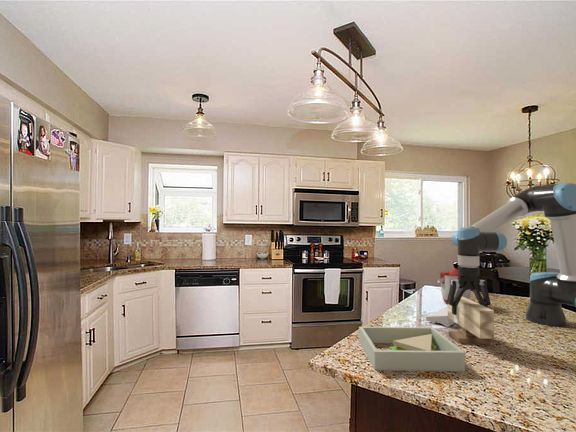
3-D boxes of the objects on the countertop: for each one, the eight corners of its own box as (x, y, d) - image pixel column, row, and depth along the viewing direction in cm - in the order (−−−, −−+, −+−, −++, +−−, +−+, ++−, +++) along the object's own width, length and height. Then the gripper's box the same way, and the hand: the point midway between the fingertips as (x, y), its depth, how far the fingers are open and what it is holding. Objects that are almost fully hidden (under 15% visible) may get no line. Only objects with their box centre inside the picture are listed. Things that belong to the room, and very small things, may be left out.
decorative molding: (428, 327, 148) (450, 327, 141) (425, 316, 149) (447, 315, 142) (455, 312, 171) (475, 311, 164) (453, 303, 172) (472, 302, 165)
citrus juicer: (433, 299, 190) (433, 265, 190) (464, 300, 188) (464, 266, 188) (442, 306, 175) (442, 270, 175) (476, 307, 172) (476, 270, 173)
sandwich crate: (432, 342, 124) (432, 327, 124) (465, 371, 100) (465, 352, 100) (359, 342, 124) (359, 326, 124) (374, 370, 100) (374, 351, 101)
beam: (459, 317, 139) (459, 294, 139) (494, 338, 115) (493, 310, 115) (447, 317, 139) (447, 294, 139) (480, 338, 115) (479, 310, 115)
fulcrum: (477, 336, 131) (477, 323, 131) (490, 343, 123) (490, 330, 123) (448, 335, 131) (448, 323, 131) (458, 343, 123) (458, 330, 123)
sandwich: (460, 357, 112) (460, 342, 112) (425, 371, 101) (425, 355, 102) (421, 342, 125) (421, 329, 125) (387, 353, 115) (387, 339, 115)
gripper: (489, 264, 130) (489, 320, 130) (437, 264, 131) (437, 319, 131) (501, 267, 123) (502, 326, 123) (445, 267, 123) (445, 325, 123)
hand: (468, 322), depth 127 cm, fingers open, 9 cm apart
